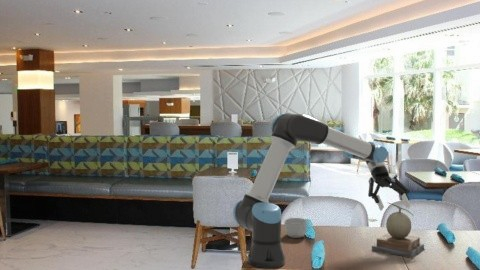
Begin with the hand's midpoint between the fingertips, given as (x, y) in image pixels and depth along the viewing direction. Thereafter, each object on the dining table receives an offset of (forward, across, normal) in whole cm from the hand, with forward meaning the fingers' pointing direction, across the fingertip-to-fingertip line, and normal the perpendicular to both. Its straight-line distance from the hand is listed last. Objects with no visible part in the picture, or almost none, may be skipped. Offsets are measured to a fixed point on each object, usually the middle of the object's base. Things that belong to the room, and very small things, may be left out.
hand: (395, 208), depth 222 cm
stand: (+15, +1, -10) cm, 18 cm away
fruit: (+12, 0, -6) cm, 13 cm away
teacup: (-8, +36, -34) cm, 50 cm away
